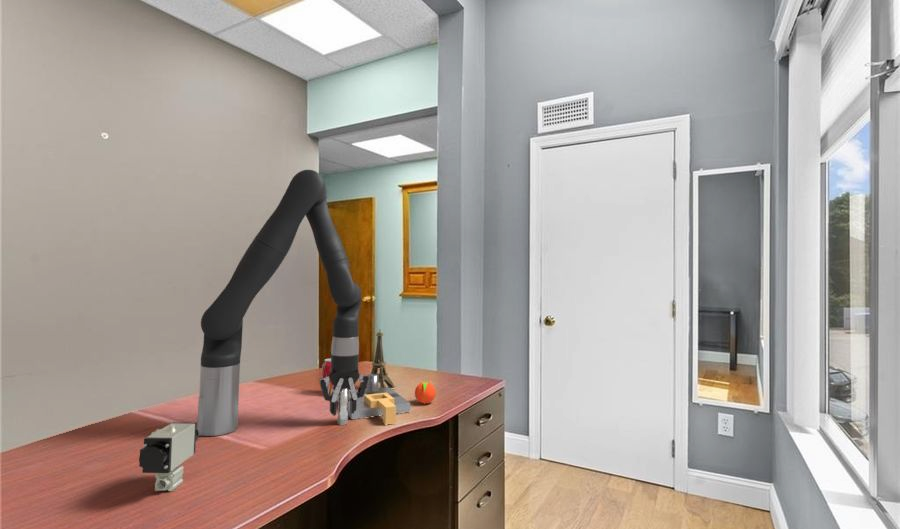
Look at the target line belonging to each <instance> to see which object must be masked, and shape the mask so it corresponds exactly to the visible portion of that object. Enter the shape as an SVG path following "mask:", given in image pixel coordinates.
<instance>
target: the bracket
mask: <svg viewBox="0 0 900 529" xmlns="http://www.w3.org/2000/svg"><path fill="white" fill-rule="evenodd" d="M364 402H365V403H366V404H367V405H368V406H369V407H370V408H376V407H378V408H379V409H380V410H381V411H382V412H383V416H382V418H383V420H382V421H383V422H382V423H384V424H392V423H397V421H396V420H397V414H396V406H395V405H394V398H393V397H392V396H390V395H389V394H388V393H378V394H368V395H364ZM384 424H383V425H384Z"/></svg>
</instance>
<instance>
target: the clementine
mask: <svg viewBox="0 0 900 529" xmlns="http://www.w3.org/2000/svg"><path fill="white" fill-rule="evenodd" d="M436 394H437V392H436V388H435V386H434V384H432V383H430V382H428V381H423V382H420V383H418V384H417V386H416V387H415V390H414V396H415V399H416V401H417V402H418V403H421V404H423V403H427V404H430V403H432V402H433V400H434V399H435V398H436Z"/></svg>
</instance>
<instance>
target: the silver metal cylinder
mask: <svg viewBox="0 0 900 529" xmlns="http://www.w3.org/2000/svg"><path fill="white" fill-rule="evenodd" d="M348 402H349V389H348V388H346V389H341V390H340V391H339V395H338V403H337V404H338V405H337V425H338V424H339V425H338V426H346V425H345V424H347V423H348V424H349V416H348ZM348 424H347V425H348Z"/></svg>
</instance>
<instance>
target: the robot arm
mask: <svg viewBox="0 0 900 529" xmlns="http://www.w3.org/2000/svg"><path fill="white" fill-rule="evenodd" d="M305 217H306V219H307V221H308V223H309V226H310V229H311V231H312V234H313V238H314V243H315V246H316V249H317V252H318V253H317V254H318V256H319V258H320V261H321V263H322V267H323V269H324V271H325V274H326V277H327V278H326V279H327V285H328V289H329V294H330V296H331V297H332V300H333V302H334V303H335V304H336V315H335V317H334V319H333V325H332V341H331V348H330V352H331V353H330V354H331V355H330V358H331V372H330V374H329V376H328V377H326V378H322V377H320V378H319V379H318V382H319V386H320V389H321V391H322V393H321V394H322V397H323V399H324V400H325V401H328V402H329V412H330V414H331V415H332V416H333V417H335V416H336V415H337V402H336V399H337V396H338V394H339V391H340V390H341V389H346V388H348V389H349V391H350V395H351V399H350V413H351V414H352V413H354V411H356V402H357V399H358V398H360V397H363V395H364V392H365V389H366V386H367V383H368V379H369V377H368V376H367V375H368V374H361V373H360V372H359V361H360V360H359V358H360V357H359V356H360V354H359V352H360V342H359V341H360V340H359V331H360V328H359V327H360V325H359V324H360V323H359V318H360V311H361V307H362V306H361V305H362V289H361V288H360V286H359V285H358V283H357V282H354V281H353V278H352V274H351V271H350V268H351V266H350V261H349V258H348V256H347V254H346V251H345V248H344V245H343V243H342V240H341V238H340V236H339V234H338V232H337V230H336V228H335V225H334V222H333V221H332V217H331V214H330V210H329V206H328V200H327V189H326V182H325V180H324V179H323V177H322V176H321V174H320V173H318V172H317V171H315V170H312V169H304V170H301V171H299V172H297V173H296V174H295V175H294V176H292V179H291V180H290V182H289V185H288V186H287V188H286V190H285V192H284V194H283V196H282V197H281V200H280V201H279V203H278V204H277V206H276V208H275V210H274V211H273V212H272V214H271V215H270V216H269V217H268V219H267V220H266V221H265V223H264V224H263V226H262V227H261V229H259V231H258V233H257V234H256V235H255V237H254V238H253V239H252V242H251V243H250V245H249V246H248V247H247V249H246V251H245V252H244V254H243V256H242V257H241V259H240V261H239V262H238V265H237V266H236V268H235V270H234V272H233V274H232V276H231V278H230V280H229V281H228V283H227V284H226V286H225V287H224V288H223V290H222V291H221V292H220V293H219V295H218V296H217V297H216V299H215V300H214V301H213V302H212V303H211V304H210V305H209V307H208V308H207V309H206V310H205V311H204V312H203V314H202V316H201V319H200V328H201V330H202V333H203V342H202V344H203V345H202V352H201V354H200V369H199V371H200V373H199V376H200V377H199V393H198V394H199V395H198V399H197V400H198V403H197V422H196V423H197V424H196V429H197V430H198V433H199V436H204V437H213V436H214V437H215V436H223V435H227V434H231V433H233V432H235V431H236V430H237V429H238V425H239V424H238V423H239V400H240V398H239V397H240V396H239V395H240V374H241V372H240V371H241V354H242V347H243V346H242V344H243V328H244V327H243V326H244V325H243V322H244V320H243V319H244V317H245V316H246V314H247V311H248V309H249V308H250V306H251V304H252V302H253V301H254V299H255V298H256V296H257V295H258V293H260V291H261V290H262V289H263V288H264V287H265V285H266V284H267V283H268V282H269V281H270V280H271V278H272V277H273V276H274V274H275V273H276V272H277V270H278V269H279V267H280V266H281V264H282V263H283V261H284V260H285V258H286V257H287V255H288V253H289V251H290V250H291V247H292V246H293V243H294V240H295V238H296V235H297V232H298V229H299V227H300V225H301V223H302V221H303V220H304V218H305ZM329 381H331V382H332V384H333V388H332V393H331V395H328V391H327V387H326V386H327V385H328V382H329ZM357 381H359V382H360V383H359V386H358V388H357V390H358V392H357V393H356V387H355V384H356V383H357Z"/></svg>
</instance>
